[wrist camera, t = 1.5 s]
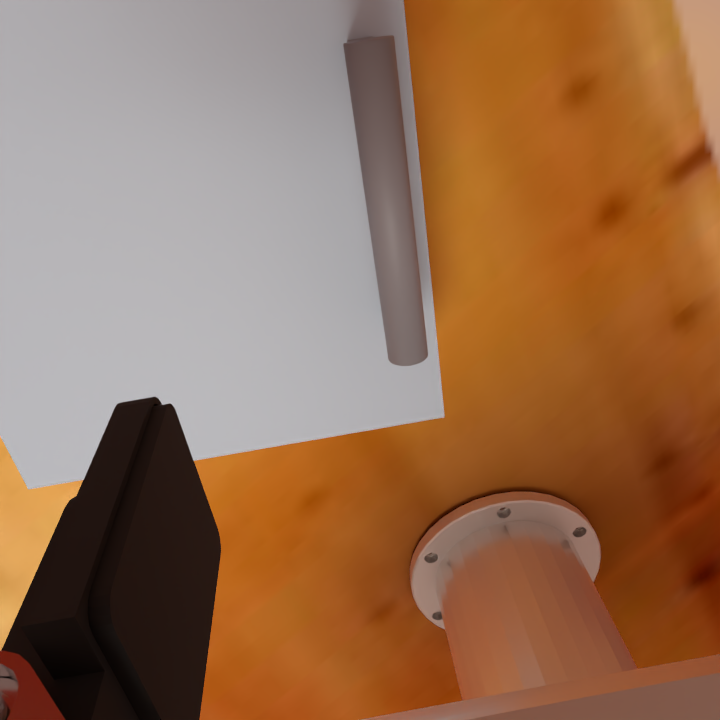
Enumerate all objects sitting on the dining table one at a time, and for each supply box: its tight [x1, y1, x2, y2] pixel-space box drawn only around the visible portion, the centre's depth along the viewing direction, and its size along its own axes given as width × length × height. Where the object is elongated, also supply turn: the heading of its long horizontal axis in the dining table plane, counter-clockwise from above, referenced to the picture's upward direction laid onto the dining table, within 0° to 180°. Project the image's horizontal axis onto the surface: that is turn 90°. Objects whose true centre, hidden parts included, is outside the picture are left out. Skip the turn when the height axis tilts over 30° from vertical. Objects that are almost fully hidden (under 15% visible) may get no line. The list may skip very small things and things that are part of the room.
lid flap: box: [0, 0, 445, 489], centre depth 21 cm, size 20×18×4 cm
